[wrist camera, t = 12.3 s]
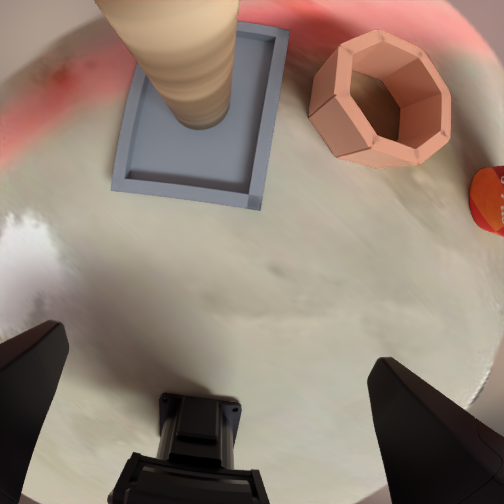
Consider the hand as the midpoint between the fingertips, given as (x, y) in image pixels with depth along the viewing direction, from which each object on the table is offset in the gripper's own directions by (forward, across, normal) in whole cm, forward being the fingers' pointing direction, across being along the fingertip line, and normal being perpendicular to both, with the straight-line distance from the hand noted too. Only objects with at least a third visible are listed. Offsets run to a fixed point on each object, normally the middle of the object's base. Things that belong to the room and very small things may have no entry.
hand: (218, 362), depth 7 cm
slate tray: (+13, +3, -7) cm, 15 cm away
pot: (+14, -8, -9) cm, 18 cm away
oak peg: (+13, +3, -7) cm, 15 cm away
